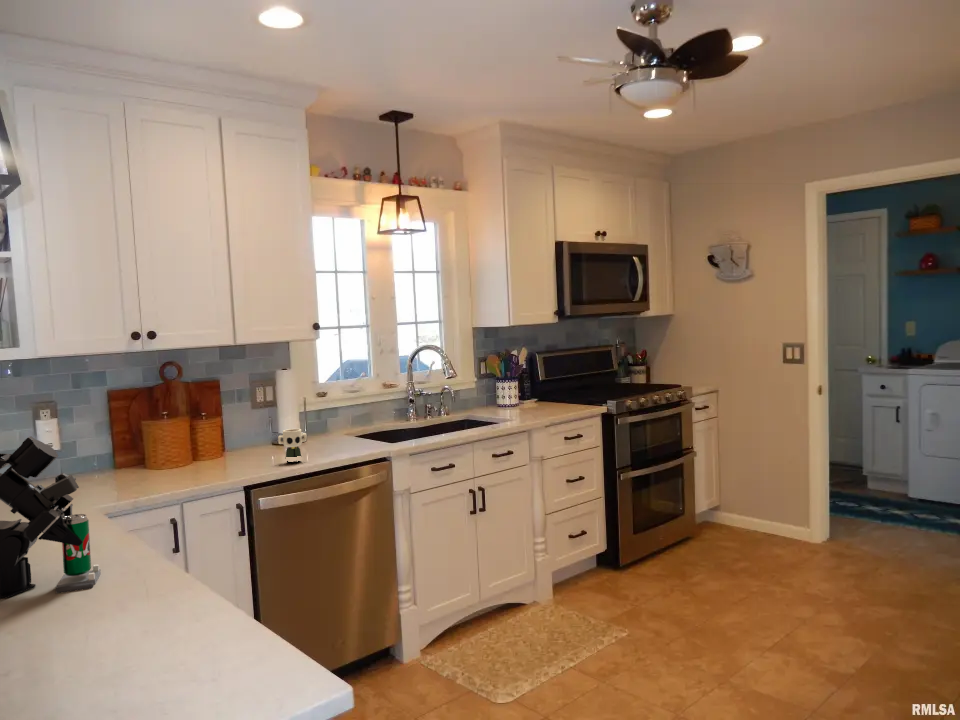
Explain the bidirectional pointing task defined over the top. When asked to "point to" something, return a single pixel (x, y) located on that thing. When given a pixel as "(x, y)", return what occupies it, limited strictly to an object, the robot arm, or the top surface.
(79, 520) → the soda can
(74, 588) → the dark grey rod
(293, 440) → the character mug
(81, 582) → the switch plate
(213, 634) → the top surface
